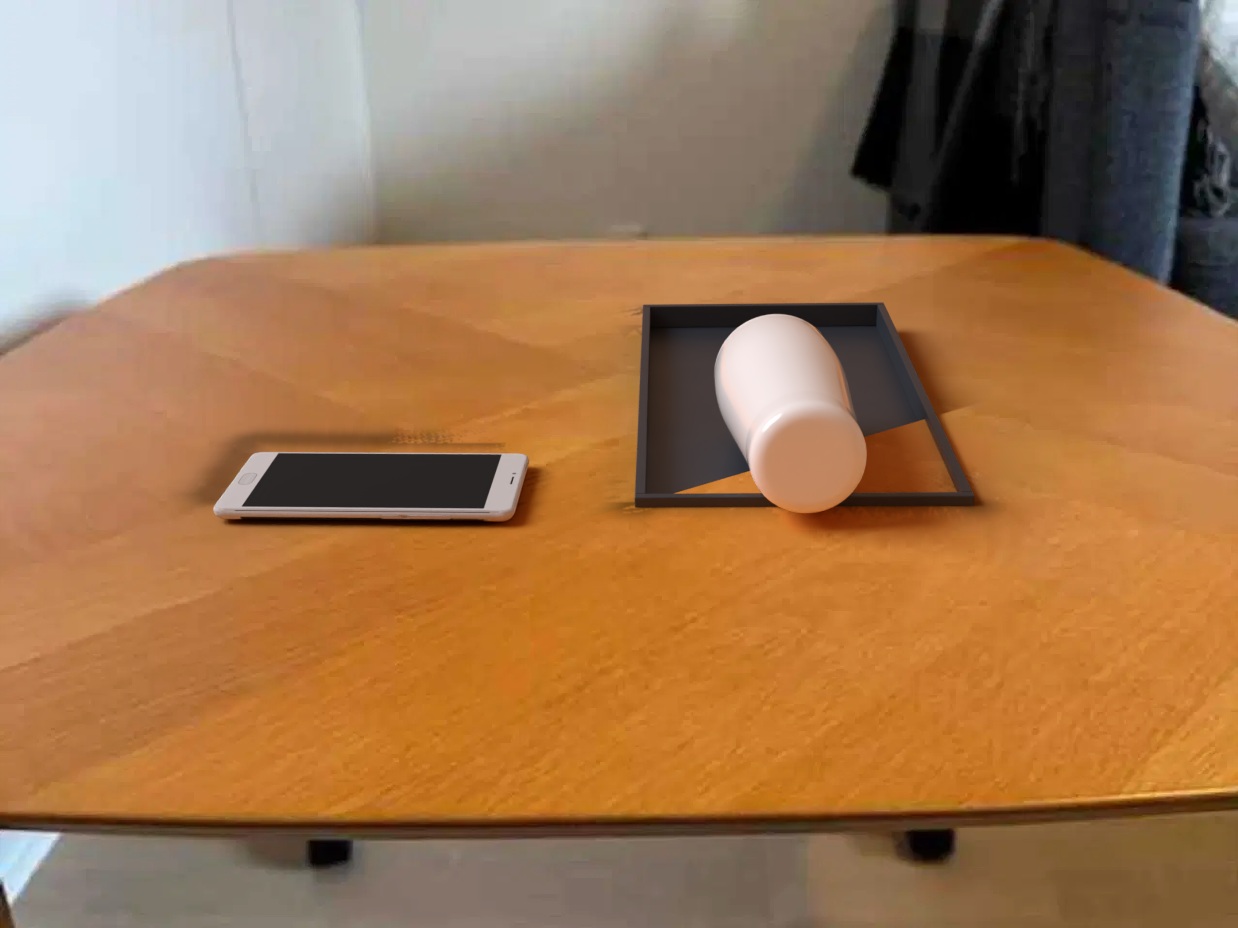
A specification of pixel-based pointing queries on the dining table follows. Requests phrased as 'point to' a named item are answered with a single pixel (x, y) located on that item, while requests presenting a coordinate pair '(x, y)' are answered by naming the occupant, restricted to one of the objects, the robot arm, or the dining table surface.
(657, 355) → the tray
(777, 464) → the drinking glass
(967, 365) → the dining table surface
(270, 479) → the smartphone
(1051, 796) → the dining table surface
